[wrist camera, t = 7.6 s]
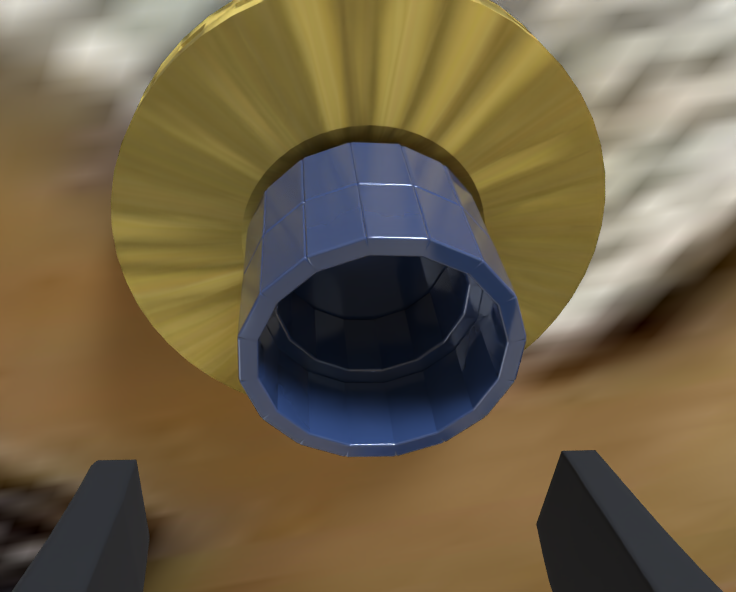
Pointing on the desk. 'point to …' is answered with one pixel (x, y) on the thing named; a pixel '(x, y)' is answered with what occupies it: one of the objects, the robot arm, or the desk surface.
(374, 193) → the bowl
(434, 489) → the desk surface
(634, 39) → the desk surface
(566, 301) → the gold flat disc
